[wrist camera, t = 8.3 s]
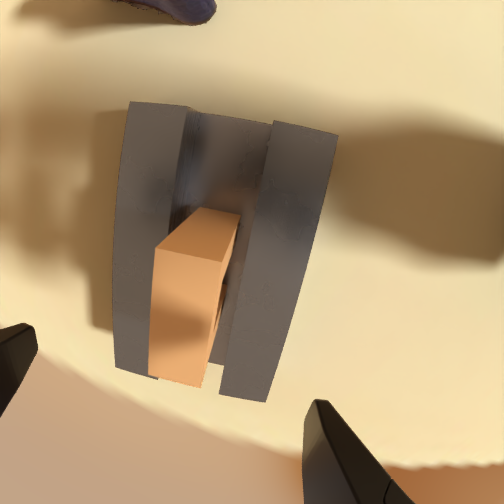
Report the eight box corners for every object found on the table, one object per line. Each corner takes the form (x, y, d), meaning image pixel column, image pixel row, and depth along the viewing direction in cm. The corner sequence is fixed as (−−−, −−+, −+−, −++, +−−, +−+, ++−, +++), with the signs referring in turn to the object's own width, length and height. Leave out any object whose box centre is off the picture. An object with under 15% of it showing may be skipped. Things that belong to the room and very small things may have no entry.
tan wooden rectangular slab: (241, 215, 18) (221, 262, 11) (223, 307, 20) (200, 388, 13) (200, 206, 18) (155, 247, 11) (186, 299, 20) (148, 374, 13)
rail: (324, 137, 17) (338, 135, 13) (266, 366, 22) (265, 402, 19) (156, 108, 17) (130, 101, 13) (134, 336, 22) (115, 367, 19)
